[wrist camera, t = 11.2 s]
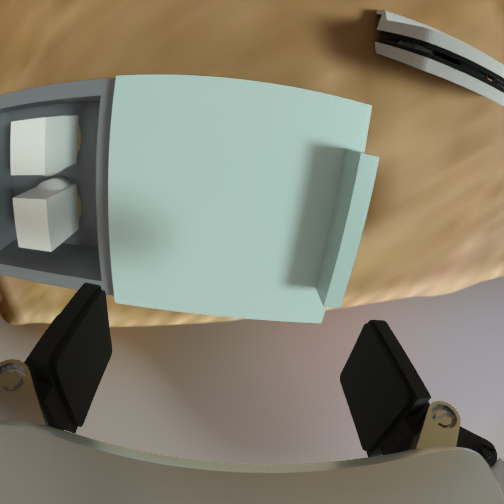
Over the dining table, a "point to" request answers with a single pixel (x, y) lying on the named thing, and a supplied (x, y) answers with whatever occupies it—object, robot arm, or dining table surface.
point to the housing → (83, 174)
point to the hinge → (421, 56)
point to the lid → (235, 196)
